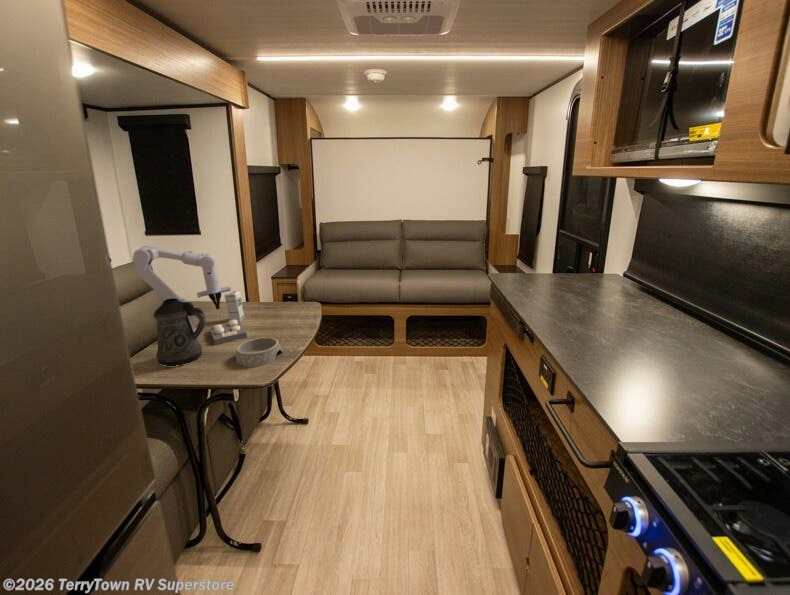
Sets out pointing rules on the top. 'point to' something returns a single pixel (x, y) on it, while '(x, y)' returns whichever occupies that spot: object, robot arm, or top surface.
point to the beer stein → (178, 332)
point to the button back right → (232, 323)
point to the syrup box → (234, 305)
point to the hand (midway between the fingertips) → (217, 308)
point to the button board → (228, 334)
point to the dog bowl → (257, 352)
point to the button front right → (235, 328)
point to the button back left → (217, 326)
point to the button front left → (219, 330)
